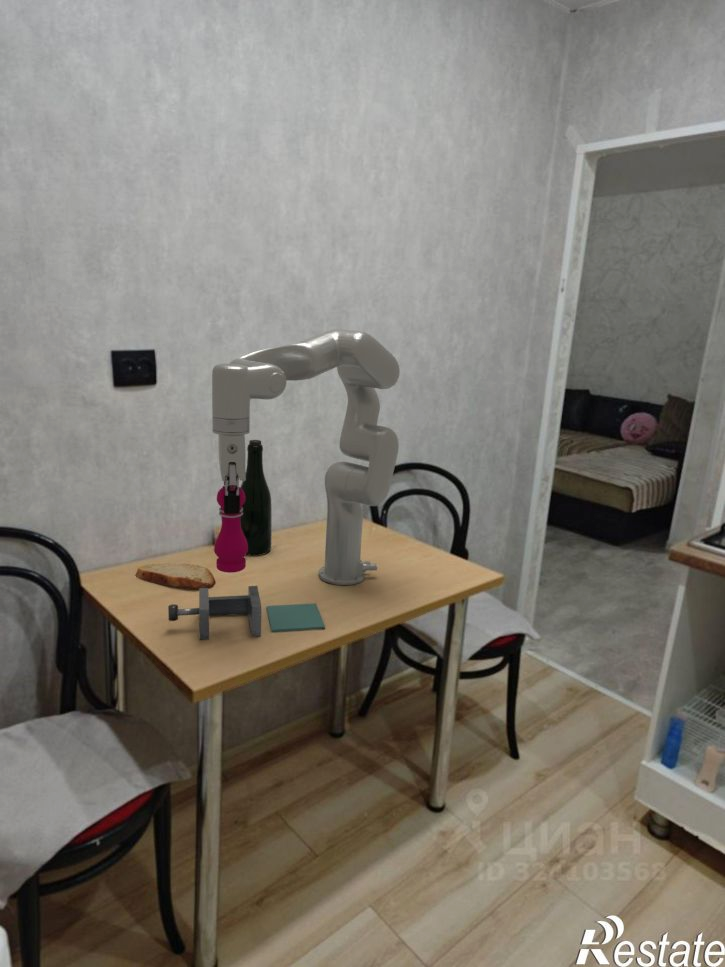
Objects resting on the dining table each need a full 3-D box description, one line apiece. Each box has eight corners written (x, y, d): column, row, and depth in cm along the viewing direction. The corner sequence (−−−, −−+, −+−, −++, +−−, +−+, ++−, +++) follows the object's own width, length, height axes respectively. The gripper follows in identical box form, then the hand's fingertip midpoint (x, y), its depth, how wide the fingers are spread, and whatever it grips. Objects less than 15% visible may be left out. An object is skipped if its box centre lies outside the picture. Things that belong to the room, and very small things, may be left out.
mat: (315, 605, 156) (316, 603, 156) (325, 628, 145) (325, 626, 145) (266, 608, 153) (266, 605, 153) (271, 632, 142) (271, 629, 142)
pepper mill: (213, 574, 136) (213, 483, 131) (214, 561, 143) (213, 474, 138) (248, 573, 138) (249, 483, 133) (247, 560, 145) (247, 474, 139)
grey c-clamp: (256, 610, 152) (256, 583, 150) (260, 636, 140) (261, 606, 138) (170, 615, 147) (169, 586, 145) (167, 641, 135) (167, 611, 134)
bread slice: (132, 572, 170) (132, 559, 169) (200, 564, 178) (200, 551, 177) (146, 600, 155) (146, 586, 154) (219, 589, 163) (219, 575, 162)
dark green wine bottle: (245, 558, 183) (246, 445, 175) (229, 547, 191) (230, 438, 183) (277, 552, 189) (280, 442, 181) (261, 541, 197) (263, 435, 189)
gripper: (252, 433, 125) (252, 521, 130) (246, 418, 141) (246, 496, 146) (213, 433, 123) (213, 522, 128) (211, 417, 139) (212, 497, 144)
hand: (231, 507), depth 137 cm, fingers closed on pepper mill, 6 cm apart
